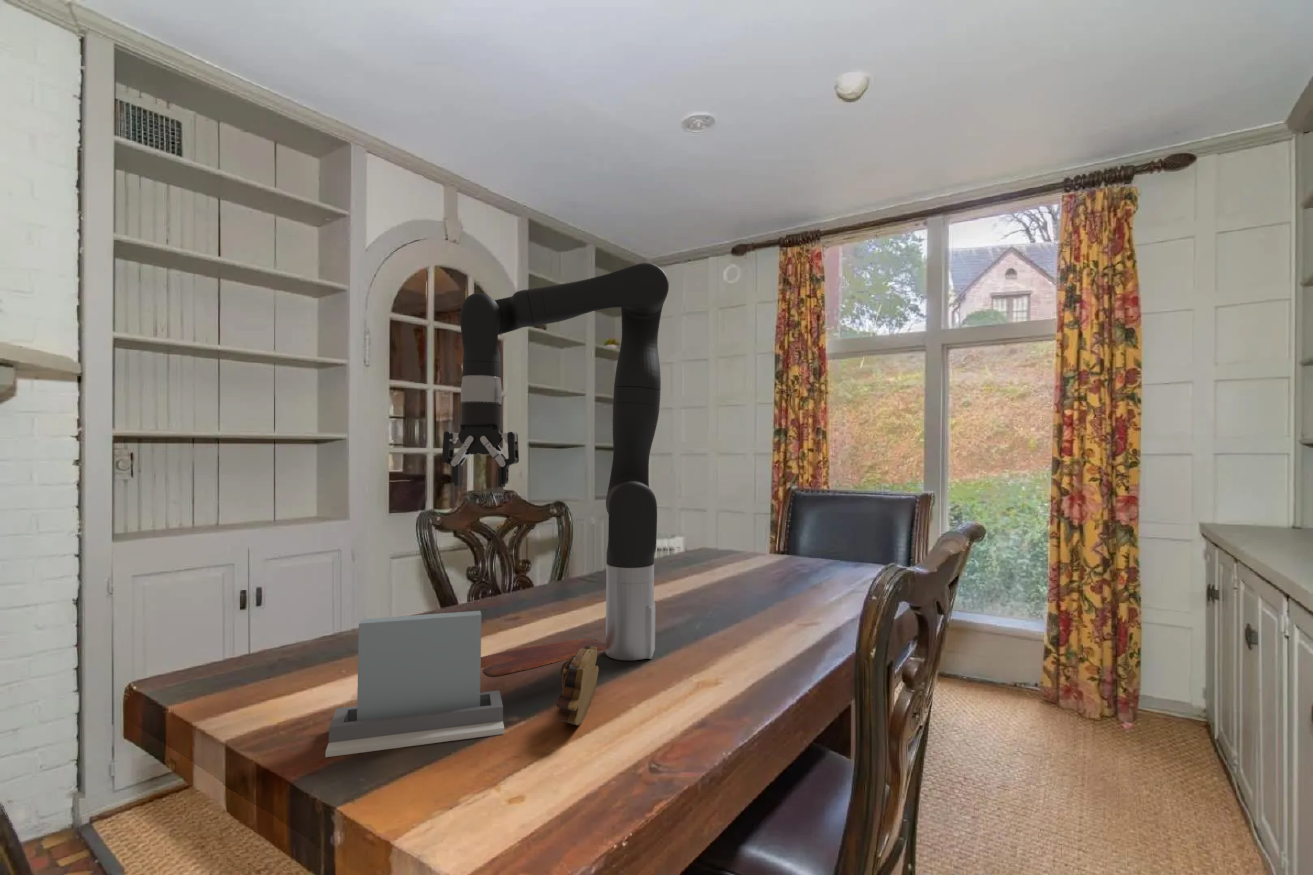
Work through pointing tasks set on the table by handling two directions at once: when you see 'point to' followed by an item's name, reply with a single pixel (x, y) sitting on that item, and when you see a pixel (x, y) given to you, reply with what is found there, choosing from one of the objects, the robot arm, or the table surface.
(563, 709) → the wooden carving
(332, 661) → the table surface
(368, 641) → the grey panel
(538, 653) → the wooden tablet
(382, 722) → the track
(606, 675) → the table surface
